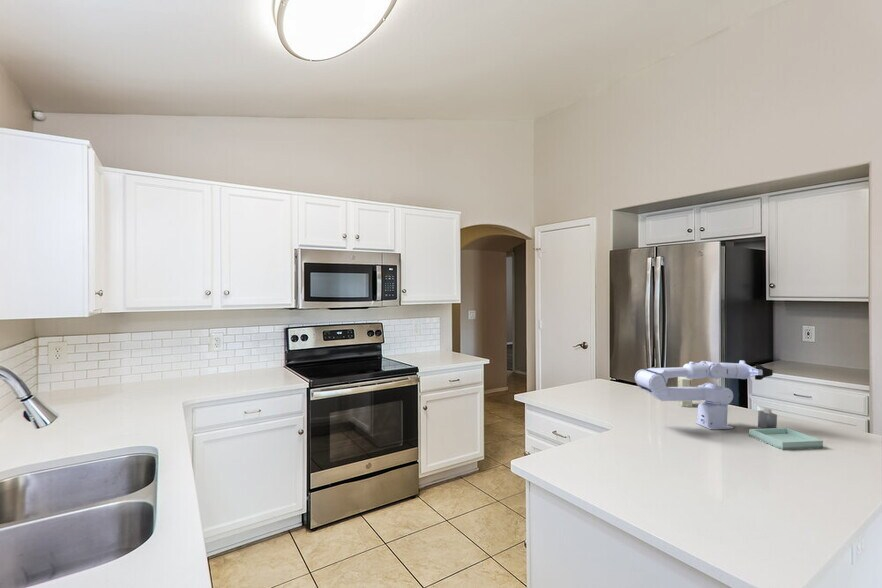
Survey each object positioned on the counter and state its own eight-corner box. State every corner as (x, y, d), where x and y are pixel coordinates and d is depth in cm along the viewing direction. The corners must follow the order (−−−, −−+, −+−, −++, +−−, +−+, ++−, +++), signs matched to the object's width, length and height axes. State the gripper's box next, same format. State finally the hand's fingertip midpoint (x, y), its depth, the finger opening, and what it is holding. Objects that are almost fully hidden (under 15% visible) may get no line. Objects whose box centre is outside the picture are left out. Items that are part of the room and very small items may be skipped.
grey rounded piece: (770, 432, 160) (771, 411, 159) (755, 426, 166) (756, 406, 166) (779, 431, 160) (779, 411, 160) (763, 425, 167) (764, 406, 166)
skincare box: (692, 407, 191) (693, 379, 191) (681, 406, 192) (682, 379, 192) (687, 403, 197) (687, 376, 197) (676, 402, 198) (677, 376, 198)
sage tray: (782, 450, 142) (782, 442, 142) (749, 436, 155) (749, 429, 155) (822, 448, 144) (822, 440, 144) (786, 434, 157) (786, 427, 157)
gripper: (747, 360, 159) (779, 362, 161) (716, 359, 174) (746, 360, 176) (747, 380, 159) (780, 381, 161) (717, 377, 173) (747, 378, 175)
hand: (762, 371), depth 168 cm, fingers open, 7 cm apart
